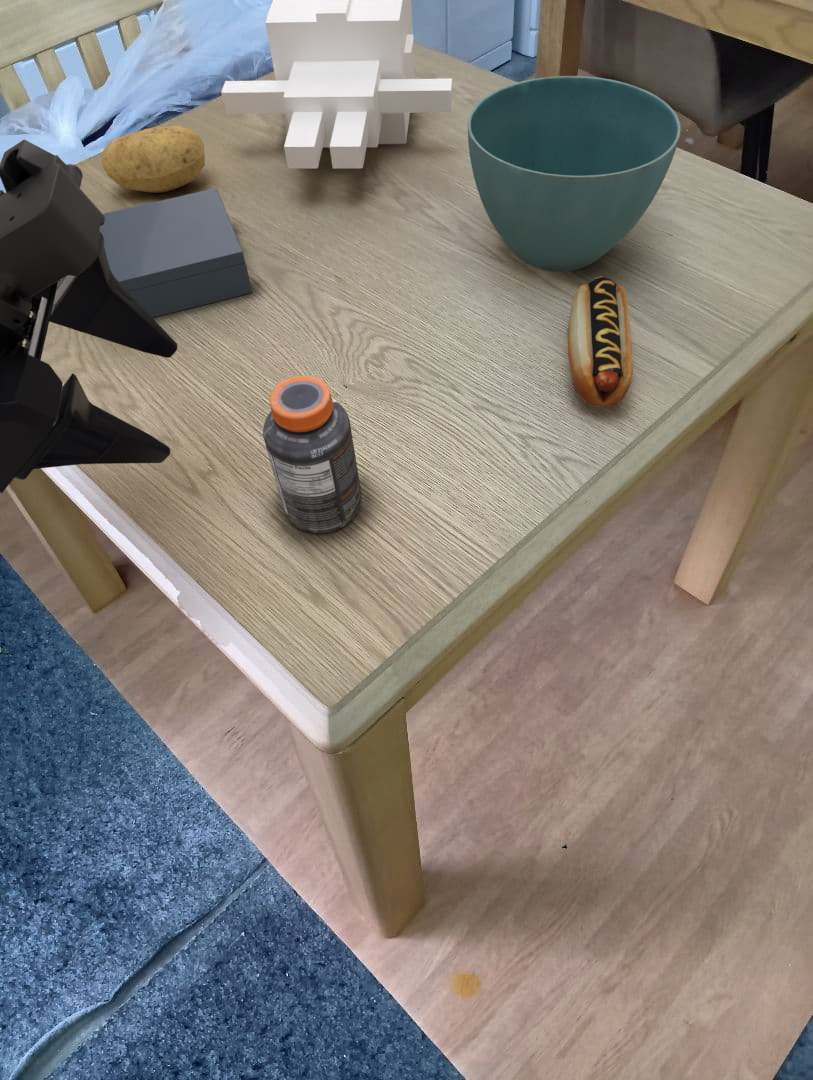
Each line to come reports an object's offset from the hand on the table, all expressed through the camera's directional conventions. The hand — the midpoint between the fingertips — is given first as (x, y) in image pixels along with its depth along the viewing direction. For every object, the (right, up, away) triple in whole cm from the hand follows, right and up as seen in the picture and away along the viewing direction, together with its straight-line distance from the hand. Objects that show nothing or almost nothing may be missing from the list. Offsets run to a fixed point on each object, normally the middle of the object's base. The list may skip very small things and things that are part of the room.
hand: (170, 401), depth 48 cm
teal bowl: (+29, +20, +30) cm, 47 cm away
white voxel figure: (+7, +38, +45) cm, 59 cm away
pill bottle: (+8, -6, +12) cm, 16 cm away
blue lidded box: (-9, +18, +30) cm, 36 cm away
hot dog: (+30, +6, +20) cm, 37 cm away
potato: (-13, +31, +41) cm, 53 cm away
